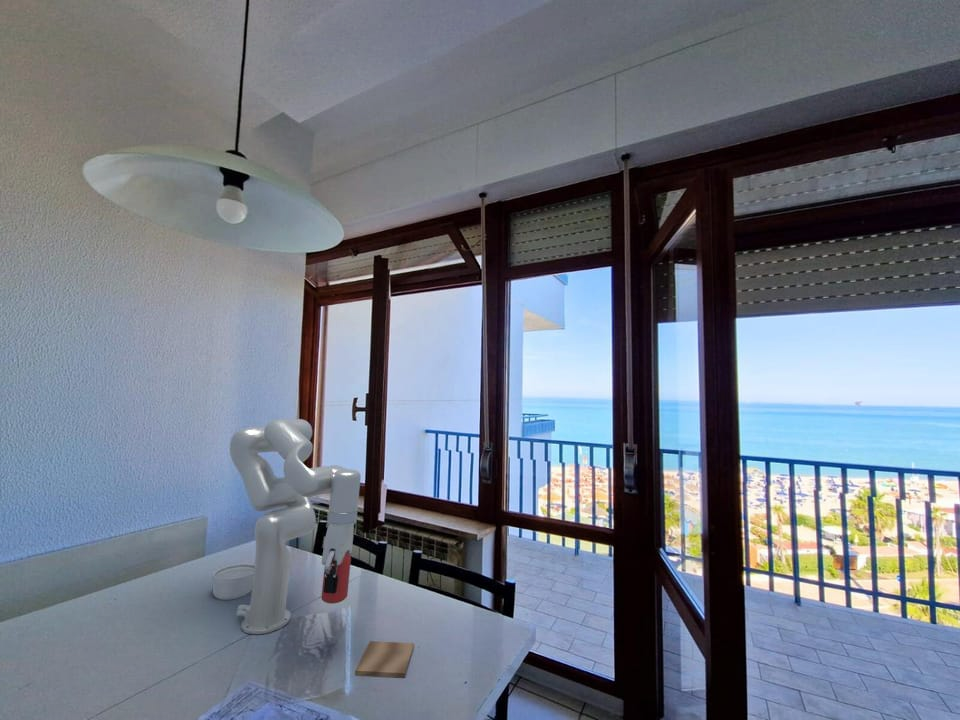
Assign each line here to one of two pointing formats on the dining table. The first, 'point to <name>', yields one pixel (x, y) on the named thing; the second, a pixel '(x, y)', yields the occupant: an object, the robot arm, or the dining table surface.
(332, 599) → the beer can
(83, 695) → the dining table surface
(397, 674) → the coaster board
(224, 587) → the ramekin
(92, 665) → the dining table surface
